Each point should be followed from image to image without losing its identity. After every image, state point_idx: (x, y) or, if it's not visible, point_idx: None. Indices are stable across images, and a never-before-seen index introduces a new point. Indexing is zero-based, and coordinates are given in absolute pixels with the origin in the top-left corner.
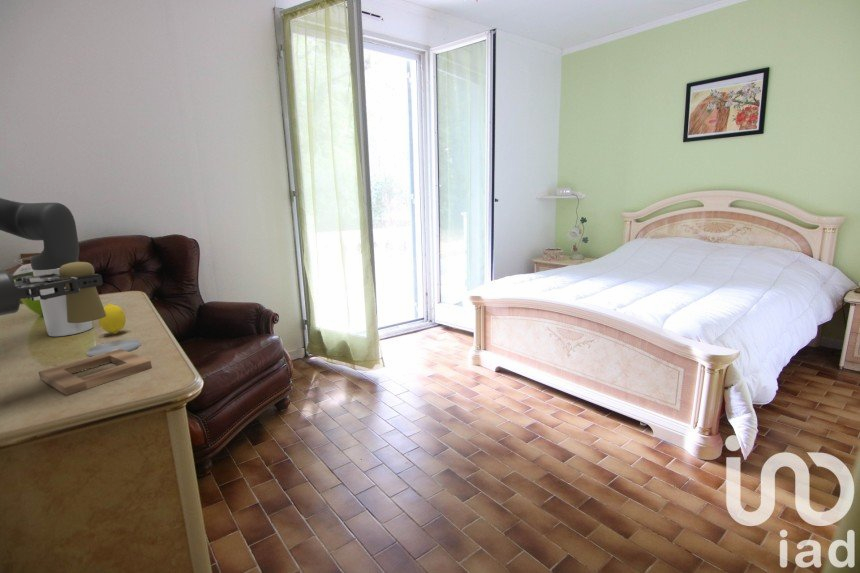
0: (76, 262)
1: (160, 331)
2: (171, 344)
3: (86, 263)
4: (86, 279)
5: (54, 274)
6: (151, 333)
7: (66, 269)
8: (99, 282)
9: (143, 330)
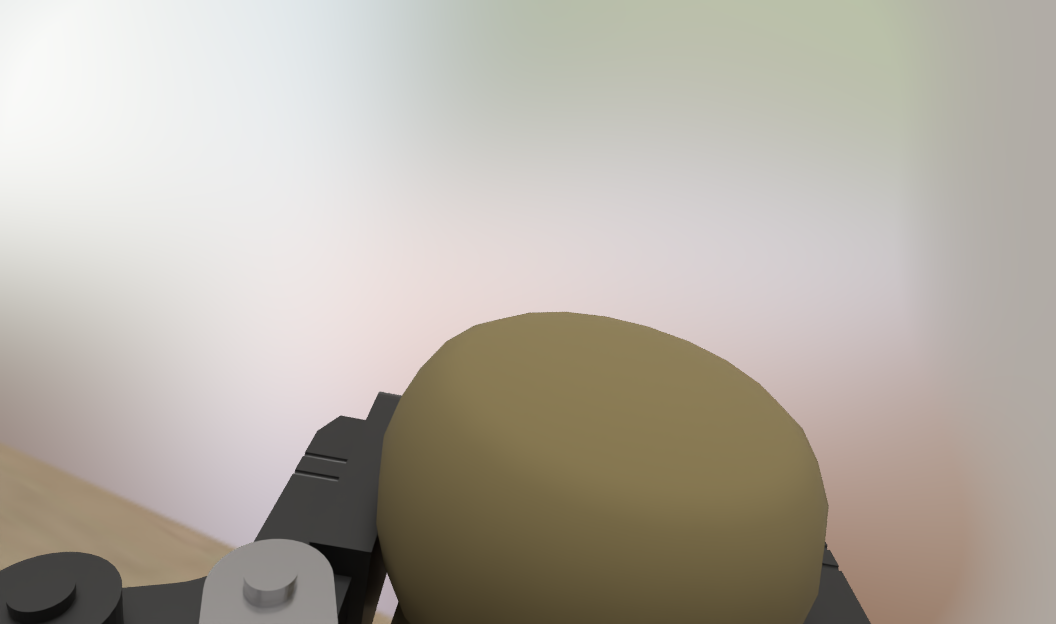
0: (634, 356)
1: (141, 516)
2: (391, 620)
3: (717, 356)
4: (851, 608)
5: (80, 593)
6: (109, 543)
7: (791, 572)
8: None
9: (7, 523)
